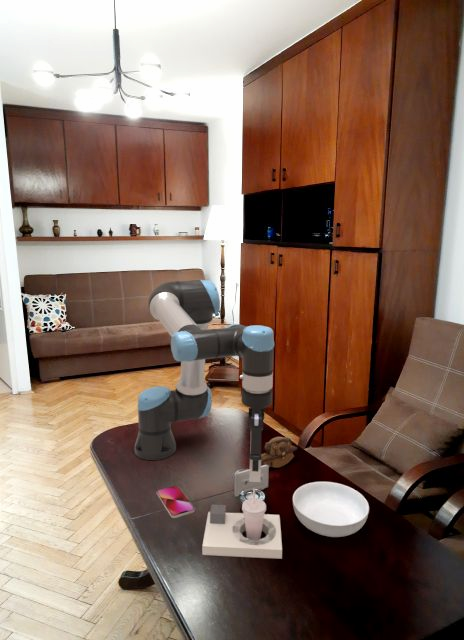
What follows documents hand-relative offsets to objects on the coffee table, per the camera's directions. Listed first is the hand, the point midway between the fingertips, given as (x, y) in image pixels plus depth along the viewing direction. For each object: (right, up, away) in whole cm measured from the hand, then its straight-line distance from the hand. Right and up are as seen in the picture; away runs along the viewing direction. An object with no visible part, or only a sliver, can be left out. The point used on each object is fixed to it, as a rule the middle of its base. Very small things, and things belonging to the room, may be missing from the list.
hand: (255, 466), depth 115 cm
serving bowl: (+21, -20, +11) cm, 31 cm away
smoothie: (0, -21, +4) cm, 21 cm away
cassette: (0, -16, +26) cm, 30 cm away
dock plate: (-3, -20, +4) cm, 21 cm away
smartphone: (-23, -18, +20) cm, 35 cm away
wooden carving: (+10, -13, +41) cm, 44 cm away
